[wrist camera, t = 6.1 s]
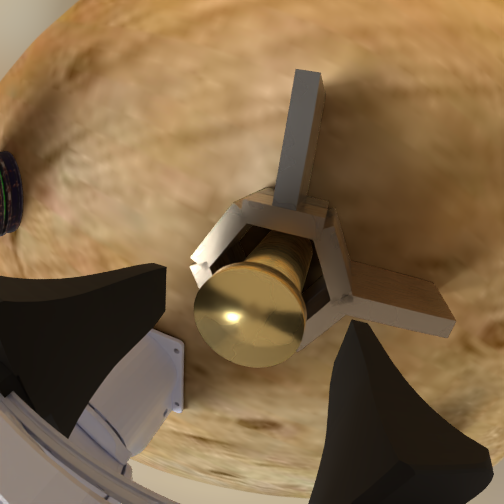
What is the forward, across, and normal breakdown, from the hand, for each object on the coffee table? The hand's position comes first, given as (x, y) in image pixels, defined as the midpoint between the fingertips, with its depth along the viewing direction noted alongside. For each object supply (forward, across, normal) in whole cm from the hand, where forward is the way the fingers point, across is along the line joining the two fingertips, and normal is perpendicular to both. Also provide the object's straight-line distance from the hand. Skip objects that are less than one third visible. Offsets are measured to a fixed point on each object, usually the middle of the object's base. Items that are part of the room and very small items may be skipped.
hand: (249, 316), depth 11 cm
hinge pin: (+7, 0, 0) cm, 7 cm away
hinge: (+7, -3, -3) cm, 8 cm away
